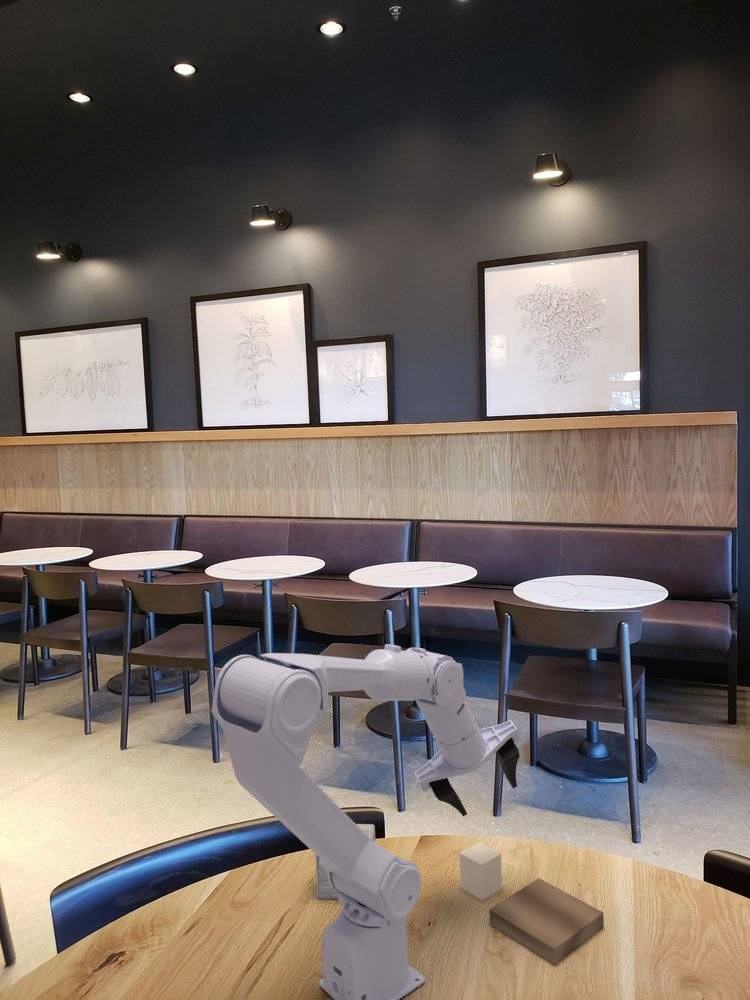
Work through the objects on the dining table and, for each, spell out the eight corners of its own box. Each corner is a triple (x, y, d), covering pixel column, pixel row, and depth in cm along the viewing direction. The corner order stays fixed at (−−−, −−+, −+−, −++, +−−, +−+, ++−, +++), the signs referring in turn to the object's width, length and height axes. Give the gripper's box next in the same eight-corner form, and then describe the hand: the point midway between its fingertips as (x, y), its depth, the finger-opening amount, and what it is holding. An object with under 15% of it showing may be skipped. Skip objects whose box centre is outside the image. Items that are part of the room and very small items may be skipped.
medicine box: (377, 882, 104) (375, 823, 103) (374, 902, 99) (372, 840, 98) (322, 880, 104) (319, 822, 104) (316, 900, 100) (314, 838, 99)
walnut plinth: (554, 965, 86) (554, 949, 86) (489, 924, 94) (489, 909, 93) (603, 927, 92) (603, 912, 92) (539, 892, 100) (538, 878, 100)
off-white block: (482, 900, 99) (481, 865, 98) (460, 887, 102) (459, 853, 101) (501, 888, 101) (501, 853, 101) (480, 876, 104) (479, 842, 104)
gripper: (491, 682, 98) (520, 750, 104) (394, 734, 97) (430, 800, 103) (514, 714, 92) (544, 785, 97) (411, 771, 90) (448, 839, 96)
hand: (487, 796), depth 100 cm, fingers open, 7 cm apart
